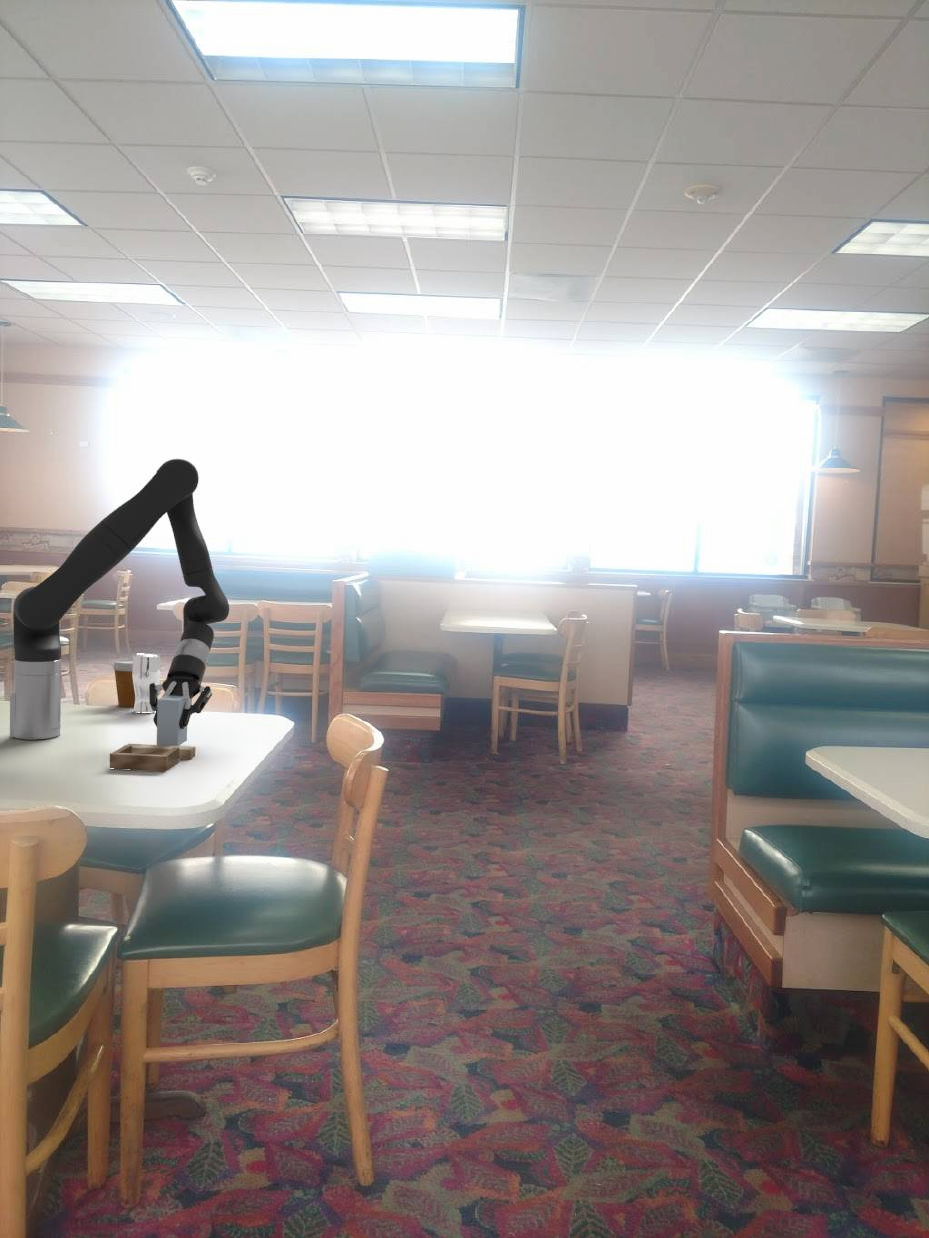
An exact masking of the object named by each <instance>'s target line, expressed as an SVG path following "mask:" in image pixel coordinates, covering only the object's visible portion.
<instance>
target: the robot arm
mask: <svg viewBox="0 0 929 1238" xmlns="http://www.w3.org/2000/svg"><path fill="white" fill-rule="evenodd" d="M199 477H200V476H199V472H198V469H197V468H196V466H195V465H194V464H193V463H192V462H190V461H189V460H187V459H182V458H172V459H169V460H167V461H165V462H164V463H162V464H161V466H159V468H158V469H157V470H156V472H155V474H154V475H153V476H152V478H150V479H149V481H148V482H147V483H146V484H145V485H144V486H143V487H142V489H140V491H138V492H136V494H134V496H132V497H131V498H129V499H128V500H127V501H125V502H124V503H122V504H121V505H120V506H118V507H117V508H116V509H114V510H112V511H111V513H109V514H108V515H107V516H105V517H104V518H103V519H102V520H101V521H99V522H98V523H97V524H96V525H95V526H94V527H93V528H92V529H91V530H89V532H88V533H87V534H86V535H84V537H83V538H82V539H80V541H79V542H78V543H77V544H76V546H75V547H74V548H73V550H72V551H71V552H70V554H69V555H68V557H67V558H66V560H65V561H63V563H62V564H61V565H60V566H59V567H58V568H57V569H55V571H54V572H52V573H51V574H50V575H49V576H48V577H46V578H45V579H44V580H43V581H41V582H40V583H39V584H37V585H36V586H30V587H28V588H25V589H23V590H22V591H20V593H18V595H16V598H15V600H14V602H13V650H14V652H13V653H14V664H13V665H14V666H13V667H14V668H13V669H14V675H13V676H14V677H13V678H14V687H13V688H14V689H13V691H14V692H12V693H11V694H10V696H9V737H10V738H14V739H18V740H29V741H30V740H33V741H34V740H45V739H53V738H56V737H59V736H60V735H61V715H62V712H61V710H62V709H61V703H62V701H61V700H62V699H61V698H62V697H61V695H62V694H61V693H62V692H61V691H62V646H61V645H62V644H61V637H60V634H61V633H60V632H61V631H60V625H61V624H60V622H61V620H62V619H63V617H64V616H65V614H66V613H67V612H68V611H69V610H70V609H71V607H72V606H73V605H74V604H76V602H77V601H78V600H79V598H81V596H82V595H83V594H84V593H85V592H86V591H87V590H88V589H89V588H91V587H92V586H93V585H94V584H95V583H97V582H98V581H99V580H101V579H102V578H103V577H104V576H106V575H107V574H108V573H109V572H110V571H111V570H113V568H115V567H116V566H118V564H119V563H120V562H122V560H124V559H125V558H126V557H127V556H128V555H130V553H131V552H133V550H134V549H135V548H136V547H137V546H138V545H139V544H140V543H141V541H142V540H143V539H144V538H145V537H146V536H147V535H148V534H149V533H150V531H151V530H152V529H153V528H154V526H155V525H156V523H158V521H160V519H161V518H162V517H164V515H167V517H168V520H169V524H170V526H171V531H172V533H173V538H174V542H175V547H176V551H177V556H178V560H179V564H180V569H181V573H182V577H183V581H184V584H185V585H186V586H187V587H189V588H200V589H201V590H202V592H203V594H204V595H199V596H198V595H197V596H195V597H194V596H193V597H191V598H190V599H188V600H187V601H186V602H185V603H184V606H183V609H182V613H183V614H182V615H183V617H182V619H183V624H182V625H183V626H182V627H183V629H182V631H183V632H182V635H181V637H180V641H179V643H178V645H177V648H176V649H175V651H174V653H173V654H174V655H173V657H172V660H171V663H170V667H169V669H168V672H167V676H166V679H165V680H164V681H163V682H162V683H161V684H160V683H159V685H155V684H154V683H151V684H150V685H149V701H150V706H151V708H152V710H153V711H156V713H154V716H153V723H154V725H155V727H156V728H157V711H158V699H159V697H158V696H160V695H161V692H164V693H163V694H162V696H161V698H162V697H164V696H170V695H174V696H183V697H186V701H185V705H184V706H185V709H184V710H183V712H182V715H181V718H180V721H179V726H180V729H184V727H186V726H187V727H188V725H189V722H190V720H191V715H193V714H195V713H196V714H201V713H202V711H203V709H205V706H206V705H207V704H208V702H209V700H210V699H211V697H212V696H213V692H212V689H211V686H209V685H208V686H203V685H202V681H203V678H204V675H205V672H206V669H207V666H208V662H209V658H210V653H211V652H210V651H211V649H212V645H213V641H214V639H215V638H214V637H215V632H214V630H213V628H212V627H211V626H210V624H216V623H221V622H223V621H226V619H227V618H228V616H229V613H230V603H229V601H228V599H227V596H226V594H225V592H223V589H222V587H221V586H220V584H219V581H218V580H217V577H216V576H215V573H214V570H213V565H212V559H211V557H210V553H209V549H208V546H207V543H206V541H205V538H204V536H203V533H202V531H201V529H200V525H199V522H198V519H197V516H196V512H195V506H194V505H195V504H194V492H195V491H196V489H197V488H198V485H199ZM198 694H199V696H198V697H197V699H195V702H194V703H193V698H194V697H196V696H197V695H198Z"/></svg>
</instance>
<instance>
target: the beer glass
mask: <svg viewBox="0 0 929 1238" xmlns="http://www.w3.org/2000/svg"><path fill="white" fill-rule="evenodd" d="M132 659H133V664H132V679H133V686H134V692H135V704H134V707H133V709H132V712H133V713H134V712H140V713H142V712H155V711H153V710H152V708H151V706H150V701H149V685H150V684H151V683H154V684H155V685H160V679H161V672H162V671H161V670H162V669H161V655H160V654H159V653H136V654H133V656H132Z"/></svg>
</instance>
